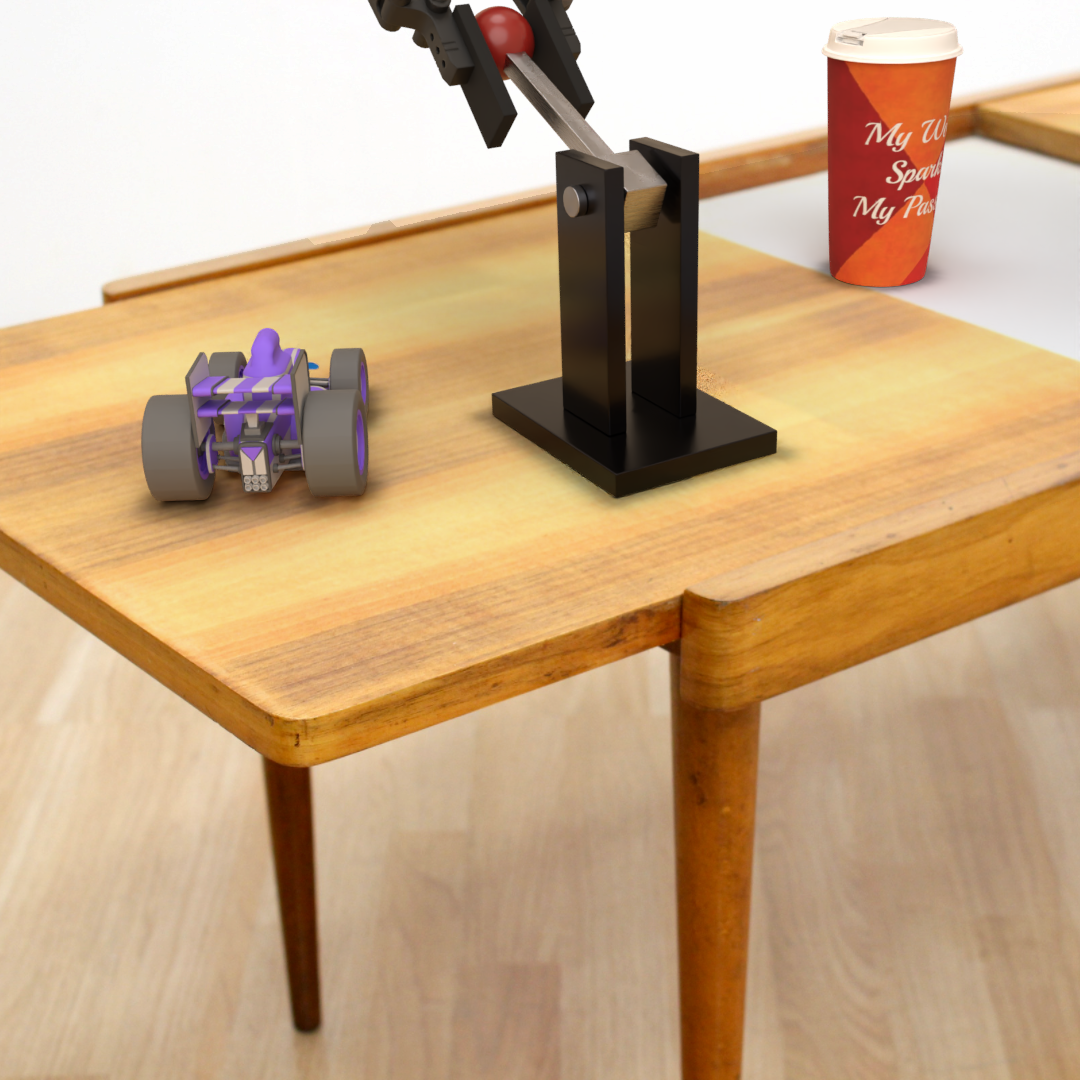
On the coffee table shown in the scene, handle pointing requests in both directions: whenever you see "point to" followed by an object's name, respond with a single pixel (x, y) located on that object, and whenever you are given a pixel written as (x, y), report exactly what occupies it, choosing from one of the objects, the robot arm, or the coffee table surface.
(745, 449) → the bracket
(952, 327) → the coffee table surface
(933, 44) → the coffee cup
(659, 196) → the lever
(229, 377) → the toy race car
